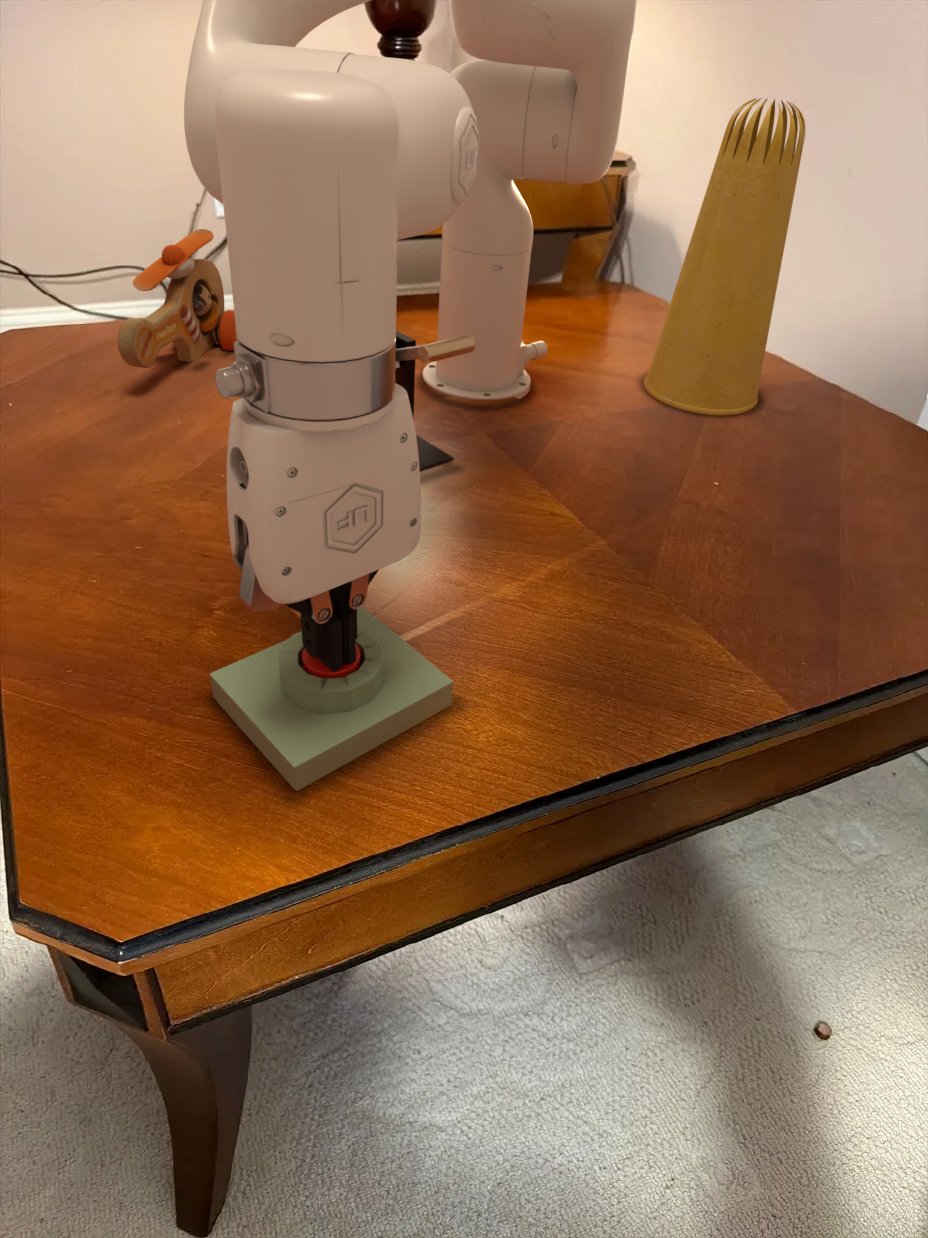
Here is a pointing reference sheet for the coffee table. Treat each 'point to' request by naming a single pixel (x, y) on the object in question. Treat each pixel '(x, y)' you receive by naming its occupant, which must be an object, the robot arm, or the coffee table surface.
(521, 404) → the coffee table surface
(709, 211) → the piping tip
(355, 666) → the button
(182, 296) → the toy helicopter
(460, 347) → the lever
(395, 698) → the button block
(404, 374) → the bracket
